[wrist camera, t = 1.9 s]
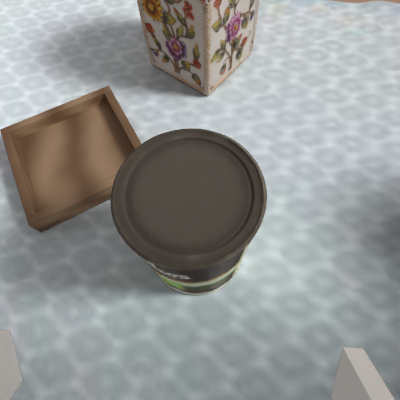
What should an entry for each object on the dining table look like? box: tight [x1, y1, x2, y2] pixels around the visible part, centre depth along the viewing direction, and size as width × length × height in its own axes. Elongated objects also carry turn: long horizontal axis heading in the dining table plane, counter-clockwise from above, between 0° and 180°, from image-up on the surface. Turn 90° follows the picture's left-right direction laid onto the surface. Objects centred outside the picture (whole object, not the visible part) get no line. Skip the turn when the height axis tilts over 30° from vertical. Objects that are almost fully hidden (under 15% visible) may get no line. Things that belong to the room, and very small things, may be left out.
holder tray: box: [0, 86, 141, 232], centre depth 36 cm, size 15×15×2 cm
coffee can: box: [111, 129, 267, 295], centre depth 25 cm, size 10×10×14 cm
